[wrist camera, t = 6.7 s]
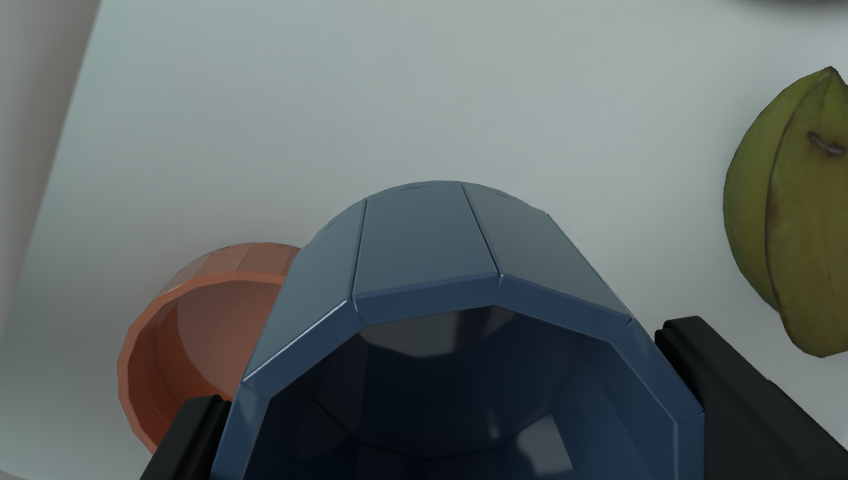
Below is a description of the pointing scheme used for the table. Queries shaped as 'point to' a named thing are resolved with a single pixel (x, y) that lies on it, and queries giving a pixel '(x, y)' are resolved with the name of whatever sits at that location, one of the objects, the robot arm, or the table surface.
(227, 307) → the big bowl
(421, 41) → the table surface
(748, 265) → the fruit
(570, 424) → the small bowl
